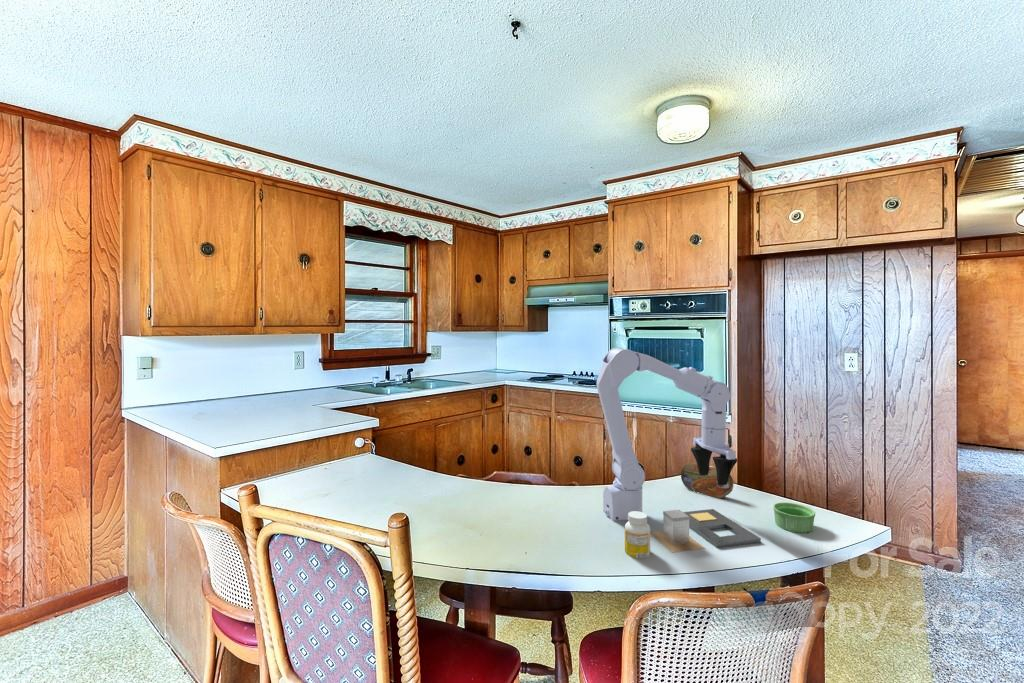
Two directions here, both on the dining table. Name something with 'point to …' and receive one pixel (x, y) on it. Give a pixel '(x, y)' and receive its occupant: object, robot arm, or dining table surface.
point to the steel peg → (676, 527)
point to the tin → (705, 481)
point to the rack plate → (714, 520)
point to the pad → (679, 547)
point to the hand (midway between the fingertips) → (712, 479)
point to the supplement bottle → (637, 535)
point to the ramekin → (794, 517)
